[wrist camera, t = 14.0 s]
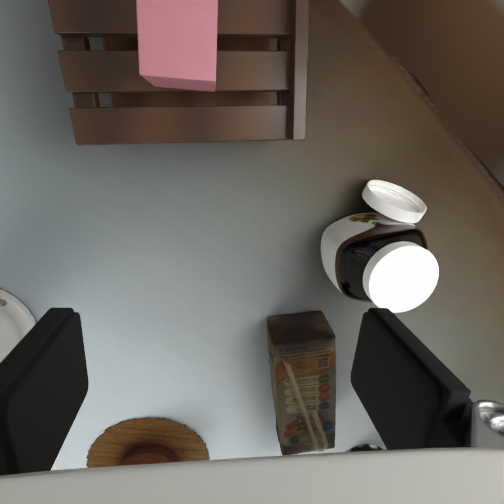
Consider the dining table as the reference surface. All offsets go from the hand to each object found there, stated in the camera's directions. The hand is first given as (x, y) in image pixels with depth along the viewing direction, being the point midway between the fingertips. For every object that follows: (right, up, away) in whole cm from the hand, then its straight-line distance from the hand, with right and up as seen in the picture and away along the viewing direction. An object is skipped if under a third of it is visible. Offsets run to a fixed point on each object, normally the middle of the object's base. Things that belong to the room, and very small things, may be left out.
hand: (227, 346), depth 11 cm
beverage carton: (+7, -13, +36) cm, 39 cm away
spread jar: (+14, +6, +30) cm, 34 cm away
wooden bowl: (-15, -29, +39) cm, 51 cm away
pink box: (-4, +19, +13) cm, 23 cm away
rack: (-5, +22, +22) cm, 31 cm away
